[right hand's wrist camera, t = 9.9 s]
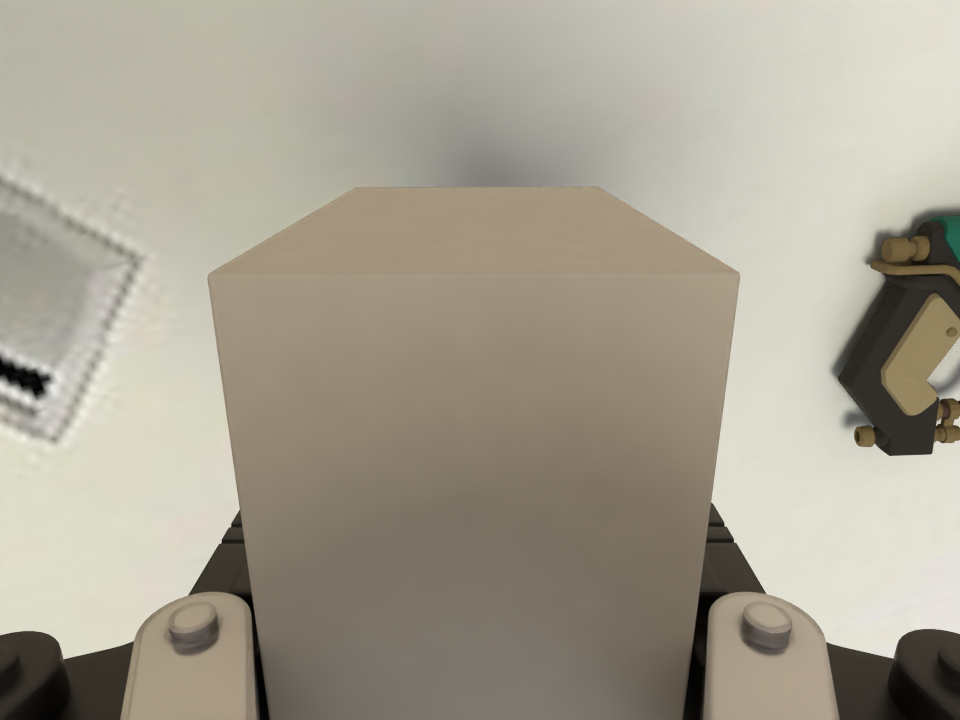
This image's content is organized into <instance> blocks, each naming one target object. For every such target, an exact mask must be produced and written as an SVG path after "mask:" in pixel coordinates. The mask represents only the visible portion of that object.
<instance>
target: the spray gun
mask: <svg viewBox="0 0 960 720" xmlns="http://www.w3.org/2000/svg"><path fill="white" fill-rule="evenodd" d="M881 254H882V258H883V260H875V261H873V262H872V263H871V264H870V265H871V268H872V269H874V270H876V271H879V272H882V273H886V274H888V275H887V277H888V279H889V281H890V283H892V284H894V285H893V286H892V288H891V289H890V291H889V293H888V294H887V296H886V298H885V299H884V301H883V303H882V304H881V306H880V308H879V309H878V311H877V313H876V314H875V316H874V318H873V319H872V321H871V322H870V324H869V326H868V327H867V329H866V331H865V333H864V334H863V336H862V338H861V340H860V341H859V343H858V345H857V346H856V348H855V350H854V352H853V353H852V355H851V357H850V359H849V360H848V362H847V364H846V365H845V367H844V369H843V371H842V372H841V374H840V376H839V378H838V380H839V382H840V383H841V384H842V386H843V387H844V388H845V389H846V391H847V392H848V393H849V394H850V396H851V397H852V398H853V400H854V401H855V402H856V403H857V405H858V406H859V407H860V408H861V410H862V411H863V412H864V414H865V415H866V416H867V417H868V419H869V420H870V421H871V422H872V424H873V425H874V426H875V427H874V428H872V427H871V426H869V425H867V426H860V427H857V428H856V429H855V431H854V439H855V441H856V443H857V445H858V446H861V447H872V446H873V445H874V443H875V444H876V445H877V446H878V447H879V448H880V449H881V450H882V451H884V452H885V453H886V454H888V455H889V456H897V455H926V454H932V451H933V444H934V442H935V441H940V442H941V443H953V442H954V441H958V440H960V428H959V427H958V426H956V425H953V423H954V419H958V417H959V416H960V401H957V400H955V399H953V398H951V399H941V400H940V402H939V398H938V397H937V392H936V391H935V389H934V388H933V387H932V386H931V385H930V384H929V383H928V382H927V379H928V377H929V376H930V374H931V373H932V372H933V371H934V369H935V368H936V367H937V365H938V364H939V363H940V361H941V360H942V359H943V358H944V356H945V355H946V354H947V352H948V351H949V350H950V348H951V347H952V346H953V345H954V343H955V342H956V341H957V339H958V338H959V337H960V215H957V216H940V217H935V218H933V219H931V220H930V221H928V222H925V223H923V224H922V225H921V226H920V228H919V229H918V232H917V236H916V237H913V238H912V239H911V240H910V242H909V240H908V239H907V238H905V237H903V238H888V239H886V240H885V241H884V243H883V245H882V247H881ZM909 257H910V259H908V258H909ZM941 417H942V419H941ZM939 419H941V424H938V425H937V426H936V422H937V421H938V420H939Z"/></svg>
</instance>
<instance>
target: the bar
mask: <svg viewBox="0 0 960 720" xmlns="http://www.w3.org/2000/svg"><path fill="white" fill-rule="evenodd" d="M739 281H740V275H739V272H738V271H736V270H734V269H733V268H731V267H729V266H728V265H726V264H724V263H723V262H721V261H719V260H718V259H716V258H714V257H713V256H711V255H710V254H708V253H706V252H705V251H703V250H701V249H700V248H698V247H696V246H695V245H693V244H691V243H690V242H688V241H686V240H685V239H683V238H682V237H680V236H678V235H677V234H675V233H673V232H672V231H670V230H668V229H667V228H665V227H663V226H662V225H660V224H658V223H657V222H655V221H654V220H652V219H650V218H649V217H647V216H645V215H644V214H642V213H640V212H639V211H637V210H635V209H634V208H632V207H630V206H629V205H627V204H626V203H624V202H622V201H621V200H619V199H617V198H616V197H614V196H612V195H611V194H609V193H607V192H606V191H604V190H602V189H601V188H599V187H356V188H354V189H352V190H351V191H349V192H347V193H346V194H344V195H342V196H340V197H339V198H337V199H335V200H334V201H332V202H330V203H328V204H327V205H325V206H323V207H322V208H320V209H318V210H317V211H315V212H313V213H311V214H310V215H308V216H306V217H305V218H303V219H301V220H299V221H298V222H296V223H294V224H293V225H291V226H289V227H288V228H286V229H284V230H282V231H281V232H279V233H277V234H276V235H274V236H272V237H270V238H269V239H267V240H265V241H264V242H262V243H260V244H259V245H257V246H255V247H253V248H252V249H250V250H248V251H247V252H245V253H243V254H241V255H240V256H238V257H236V258H235V259H233V260H231V261H230V262H228V263H226V264H224V265H223V266H221V267H219V268H218V269H216V270H214V271H213V272H211V273H209V275H208V285H209V292H210V299H211V306H212V313H213V320H214V328H215V335H216V342H217V349H218V356H219V363H220V370H221V377H222V384H223V392H224V399H225V406H226V413H227V420H228V427H229V434H230V441H231V448H232V456H233V463H234V470H235V477H236V484H237V491H238V498H239V505H240V512H241V520H242V527H243V534H244V541H245V548H246V555H247V562H248V569H249V576H250V584H251V591H252V598H253V605H254V612H255V619H256V626H257V633H258V640H259V648H260V655H261V662H262V669H263V676H264V683H265V690H266V697H267V704H268V712H269V719H270V720H683V715H684V708H685V700H686V692H687V684H688V677H689V669H690V661H691V653H692V646H693V638H694V630H695V622H696V615H697V607H698V599H699V591H700V584H701V576H702V568H703V560H704V553H705V545H706V537H707V529H708V522H709V514H710V506H711V498H712V490H713V483H714V475H715V467H716V459H717V452H718V444H719V436H720V428H721V421H722V413H723V405H724V397H725V390H726V382H727V374H728V366H729V359H730V351H731V343H732V335H733V328H734V320H735V312H736V304H737V297H738V289H739Z"/></svg>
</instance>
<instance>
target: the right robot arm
mask: <svg viewBox="0 0 960 720" xmlns="http://www.w3.org/2000/svg"><path fill="white" fill-rule="evenodd" d="M0 720H270V719H269V712H268V704H267V697H266V690H265V683H264V676H263V669H262V662H261V655H260V648H259V640H258V633H257V626H256V619H255V612H254V605H253V598H252V591H251V584H250V576H249V569H248V562H247V555H246V548H245V541H244V534H243V527H242V520H241V512H240V510H239V512H238V514H237V515H236V517H235V519H234V520H233V522H232V524H231V528H229V529H228V530H227V532H226V534H225V535H224V537H223V539H222V543H221V544H219V545H218V547H217V548H216V550H215V552H214V553H213V555H212V557H211V558H210V560H209V562H208V563H207V565H206V567H205V568H204V570H203V572H202V573H201V575H200V577H199V578H198V580H197V582H196V583H195V585H194V587H193V588H192V590H191V592H190V593H189V595H188V596H186V597H183V598H180V599H177V600H175V601H173V602H171V603H169V604H167V605H165V606H164V607H162V608H160V609H159V610H157V611H156V612H155V613H153V614H152V615H151V616H150V617H149V618H148V619H147V620H146V621H145V622H144V623H143V624H142V626H141V627H140V628H139V630H138V632H137V634H136V637H135V640H134V641H133V642H131V643H128V644H125V645H122V646H119V647H115V648H111V649H107V650H103V651H98V652H94V653H90V654H85V655H81V656H77V657H72V658H68V659H63V656H62V652H61V648H60V645H59V643H58V642H57V640H56V639H55V638H53V637H52V636H50V635H48V634H45V633H42V632H35V631H22V632H14V633H9V634H4V635H0ZM683 720H960V634H957V633H954V632H949V631H944V630H936V629H922V630H915V631H912V632H909V633H907V634H905V635H904V636H902V638H901V639H900V640H899V642H898V644H897V648H896V651H895V655H894V659H892V658H888V657H883V656H879V655H874V654H870V653H866V652H861V651H857V650H853V649H848V648H844V647H840V646H836V645H833V644H830V643H827V642H826V640H825V637H824V634H823V632H822V630H821V629H820V627H819V626H818V624H817V623H816V622H815V621H814V620H813V619H812V618H811V617H810V616H809V615H808V614H807V613H805V612H804V611H803V610H801V609H800V608H798V607H796V606H795V605H793V604H791V603H789V602H787V601H785V600H783V599H780V598H777V597H774V596H771V595H767V594H766V593H765V591H764V589H763V587H762V586H761V584H760V582H759V581H758V579H757V577H756V576H755V574H754V572H753V571H752V569H751V567H750V565H749V564H748V562H747V560H746V559H745V557H744V555H743V554H742V552H741V550H740V549H739V547H738V545H737V544H736V543H734V538H733V537H732V535H731V533H730V532H729V530H728V528H727V527H725V526H724V522H723V520H722V518H721V516H720V515H719V513H718V511H717V510H716V508H715V506H714V505H713V504H712V503H711V506H710V514H709V522H708V529H707V537H706V545H705V553H704V560H703V568H702V576H701V584H700V591H699V599H698V607H697V615H696V622H695V630H694V638H693V646H692V653H691V661H690V669H689V677H688V684H687V692H686V700H685V708H684V715H683Z"/></svg>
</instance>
